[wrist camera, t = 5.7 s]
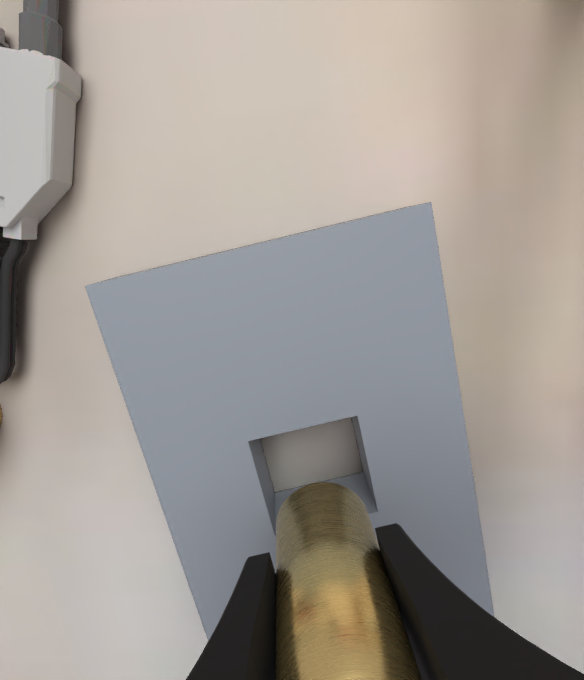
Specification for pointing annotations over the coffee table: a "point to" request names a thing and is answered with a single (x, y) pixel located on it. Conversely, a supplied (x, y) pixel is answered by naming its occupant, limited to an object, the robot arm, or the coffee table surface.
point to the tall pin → (335, 593)
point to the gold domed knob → (0, 415)
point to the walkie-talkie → (31, 146)
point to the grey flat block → (297, 390)
